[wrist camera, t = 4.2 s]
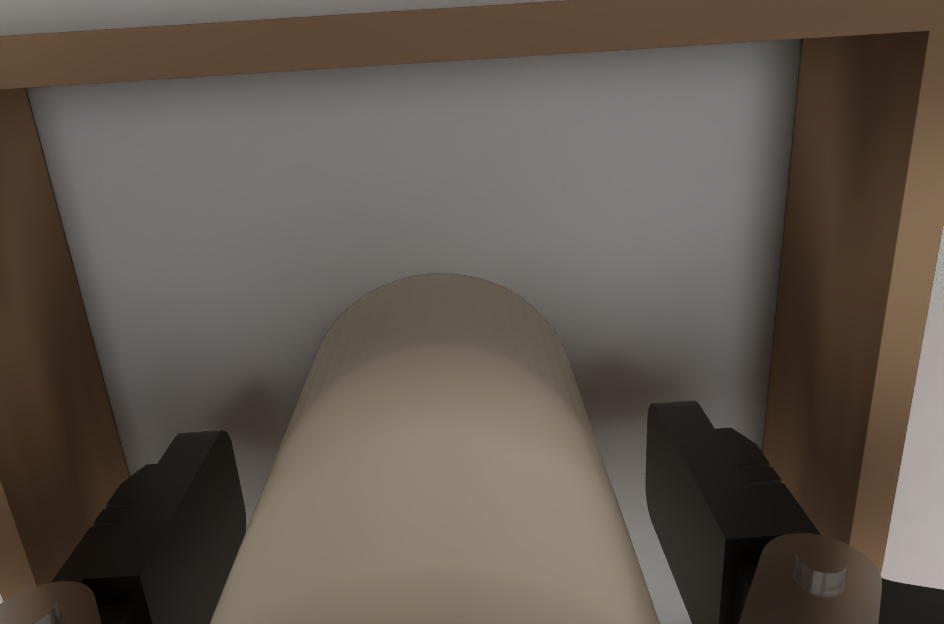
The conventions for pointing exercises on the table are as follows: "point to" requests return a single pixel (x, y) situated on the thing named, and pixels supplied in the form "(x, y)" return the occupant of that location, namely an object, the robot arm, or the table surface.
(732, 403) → the table surface
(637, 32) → the holder
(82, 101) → the table surface
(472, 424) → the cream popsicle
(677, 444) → the robot arm
